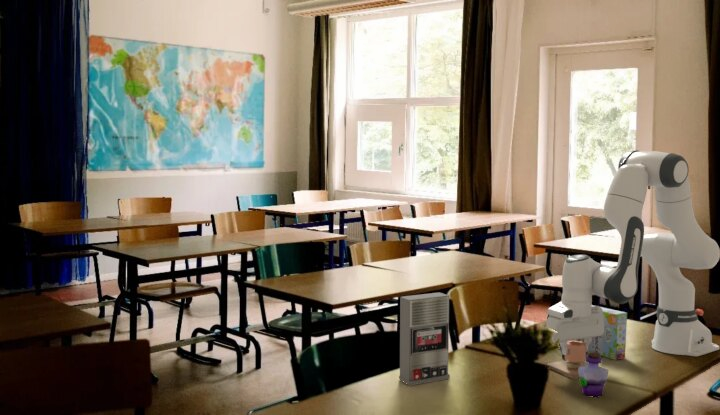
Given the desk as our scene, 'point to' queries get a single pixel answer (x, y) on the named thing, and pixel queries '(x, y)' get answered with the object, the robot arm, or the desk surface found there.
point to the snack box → (611, 335)
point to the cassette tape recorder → (424, 338)
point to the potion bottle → (592, 375)
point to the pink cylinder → (576, 351)
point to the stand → (567, 368)
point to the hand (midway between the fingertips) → (575, 353)
